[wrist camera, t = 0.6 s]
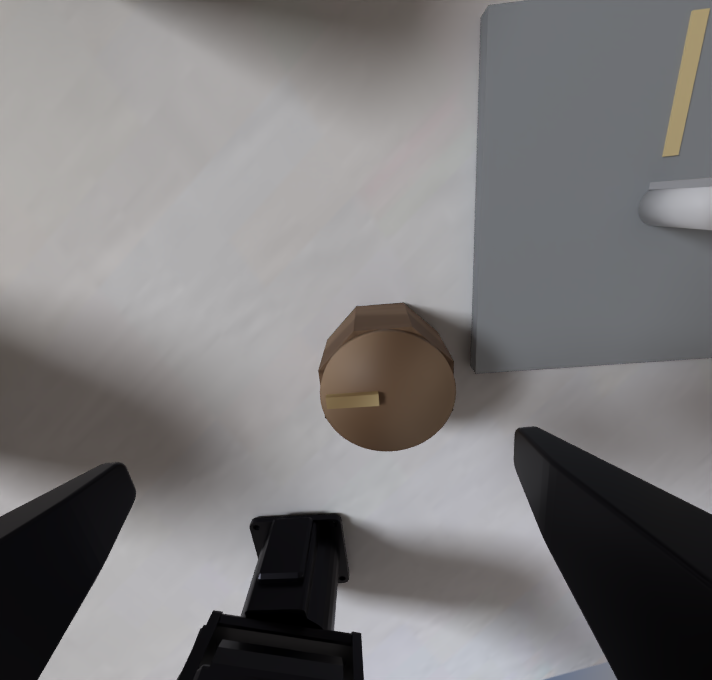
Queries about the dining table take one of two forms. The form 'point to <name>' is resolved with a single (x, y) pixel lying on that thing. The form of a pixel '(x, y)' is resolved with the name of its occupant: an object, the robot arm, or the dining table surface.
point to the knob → (386, 378)
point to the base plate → (593, 184)
